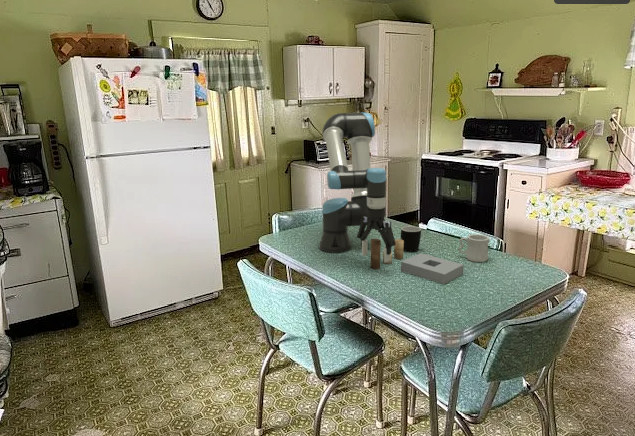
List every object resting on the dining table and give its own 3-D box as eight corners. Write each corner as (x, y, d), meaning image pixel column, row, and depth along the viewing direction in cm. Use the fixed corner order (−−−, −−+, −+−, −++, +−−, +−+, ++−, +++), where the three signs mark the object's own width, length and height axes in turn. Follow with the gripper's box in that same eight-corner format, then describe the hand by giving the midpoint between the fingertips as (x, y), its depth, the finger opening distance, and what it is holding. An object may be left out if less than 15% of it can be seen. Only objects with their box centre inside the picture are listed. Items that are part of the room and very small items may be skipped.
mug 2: (488, 257, 200) (490, 235, 198) (486, 263, 193) (488, 241, 190) (459, 253, 206) (460, 232, 203) (456, 260, 198) (457, 238, 195)
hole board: (400, 270, 187) (401, 261, 186) (420, 262, 196) (420, 253, 195) (444, 284, 173) (444, 274, 172) (463, 274, 182) (463, 264, 181)
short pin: (380, 262, 197) (380, 251, 195) (386, 260, 199) (386, 249, 198) (388, 264, 194) (388, 253, 193) (393, 262, 197) (394, 251, 195)
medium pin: (392, 257, 202) (392, 240, 200) (397, 255, 205) (398, 238, 203) (399, 260, 199) (400, 242, 197) (405, 257, 202) (405, 240, 200)
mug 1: (424, 251, 210) (425, 229, 207) (408, 254, 206) (408, 232, 204) (408, 243, 220) (409, 223, 218) (393, 246, 217) (393, 226, 214)
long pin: (368, 267, 191) (368, 240, 188) (374, 265, 194) (375, 238, 191) (376, 269, 189) (376, 242, 186) (382, 267, 191) (382, 240, 188)
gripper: (348, 204, 190) (348, 254, 196) (393, 213, 174) (392, 267, 179) (360, 201, 195) (360, 249, 201) (405, 209, 179) (404, 262, 184)
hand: (375, 258), depth 190 cm, fingers open, 11 cm apart
